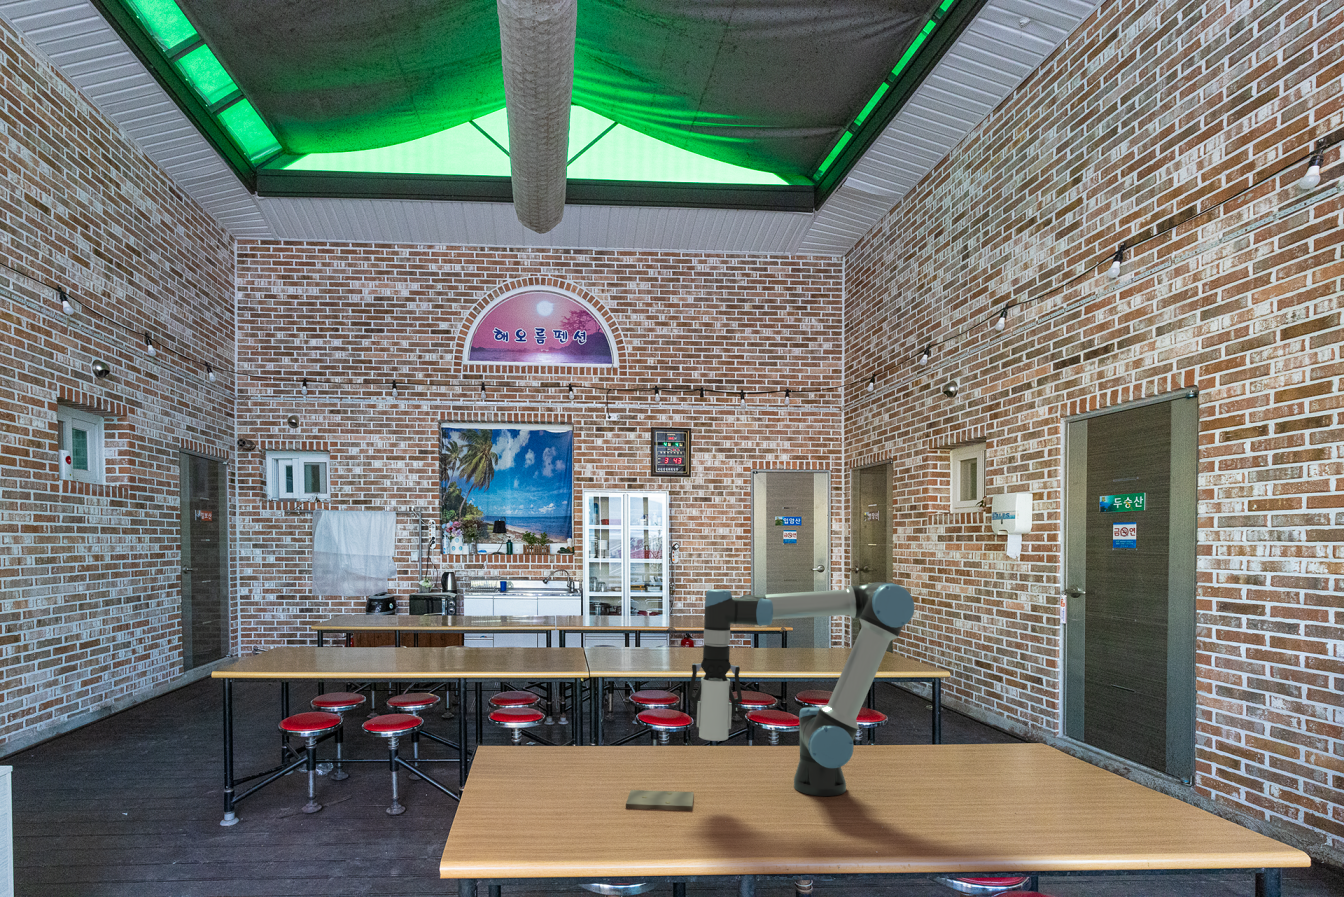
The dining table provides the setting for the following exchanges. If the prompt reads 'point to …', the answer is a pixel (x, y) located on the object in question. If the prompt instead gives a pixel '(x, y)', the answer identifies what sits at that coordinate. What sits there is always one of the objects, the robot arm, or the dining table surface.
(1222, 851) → the dining table surface
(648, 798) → the board
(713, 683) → the cup
